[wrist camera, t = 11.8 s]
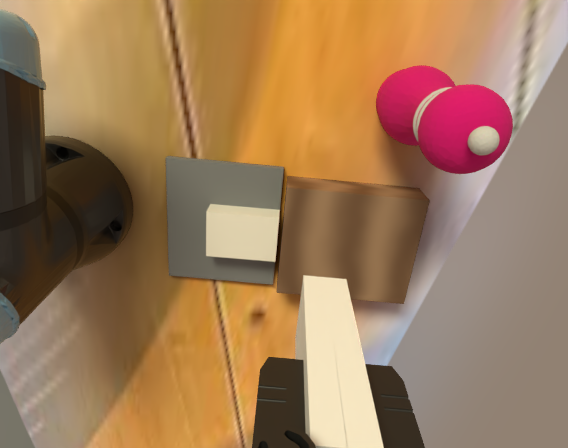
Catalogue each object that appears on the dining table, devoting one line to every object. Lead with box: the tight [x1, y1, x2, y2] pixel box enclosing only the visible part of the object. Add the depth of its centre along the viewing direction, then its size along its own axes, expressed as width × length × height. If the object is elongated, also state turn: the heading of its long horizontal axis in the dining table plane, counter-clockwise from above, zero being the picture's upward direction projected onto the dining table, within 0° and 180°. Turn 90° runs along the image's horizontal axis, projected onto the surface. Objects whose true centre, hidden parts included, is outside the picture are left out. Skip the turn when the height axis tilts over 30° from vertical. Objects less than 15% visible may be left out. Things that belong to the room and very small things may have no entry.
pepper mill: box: [376, 66, 513, 174], centre depth 34 cm, size 7×7×20 cm
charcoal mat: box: [166, 156, 284, 285], centre depth 48 cm, size 13×15×1 cm
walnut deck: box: [277, 176, 429, 304], centre depth 47 cm, size 15×13×4 cm
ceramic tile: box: [206, 204, 280, 262], centre depth 47 cm, size 8×6×2 cm
